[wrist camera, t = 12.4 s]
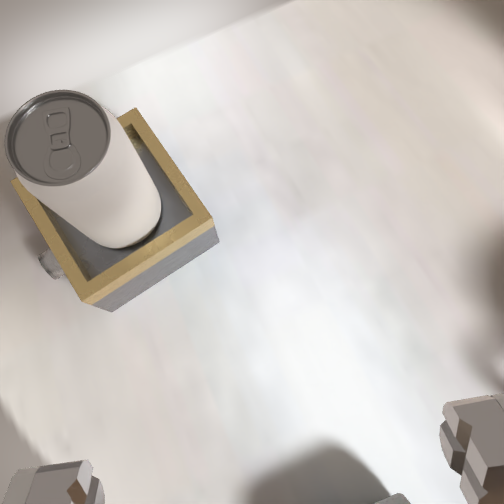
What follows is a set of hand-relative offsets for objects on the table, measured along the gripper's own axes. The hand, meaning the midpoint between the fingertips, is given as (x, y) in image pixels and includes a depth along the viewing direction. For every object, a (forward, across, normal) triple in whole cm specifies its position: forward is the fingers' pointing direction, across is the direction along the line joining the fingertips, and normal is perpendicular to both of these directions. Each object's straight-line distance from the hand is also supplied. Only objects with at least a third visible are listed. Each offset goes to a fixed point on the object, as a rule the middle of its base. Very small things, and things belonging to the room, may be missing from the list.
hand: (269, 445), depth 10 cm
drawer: (+30, +10, +9) cm, 33 cm away
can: (+27, +9, +6) cm, 29 cm away
